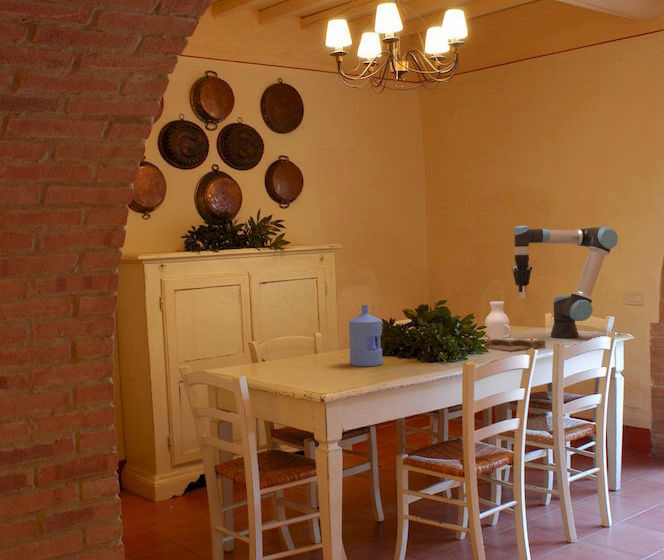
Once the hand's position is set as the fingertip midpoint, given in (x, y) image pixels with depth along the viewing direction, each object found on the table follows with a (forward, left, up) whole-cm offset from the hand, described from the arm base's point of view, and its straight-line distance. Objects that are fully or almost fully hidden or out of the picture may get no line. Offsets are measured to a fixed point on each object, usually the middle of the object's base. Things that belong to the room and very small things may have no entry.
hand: (522, 298), depth 458 cm
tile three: (+9, +16, -23) cm, 29 cm away
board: (+16, +8, -24) cm, 30 cm away
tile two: (+23, -1, -23) cm, 32 cm away
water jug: (+105, +7, -25) cm, 108 cm away
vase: (-9, -31, -25) cm, 41 cm away
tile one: (+16, +8, -23) cm, 29 cm away
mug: (+1, -16, -25) cm, 29 cm away
